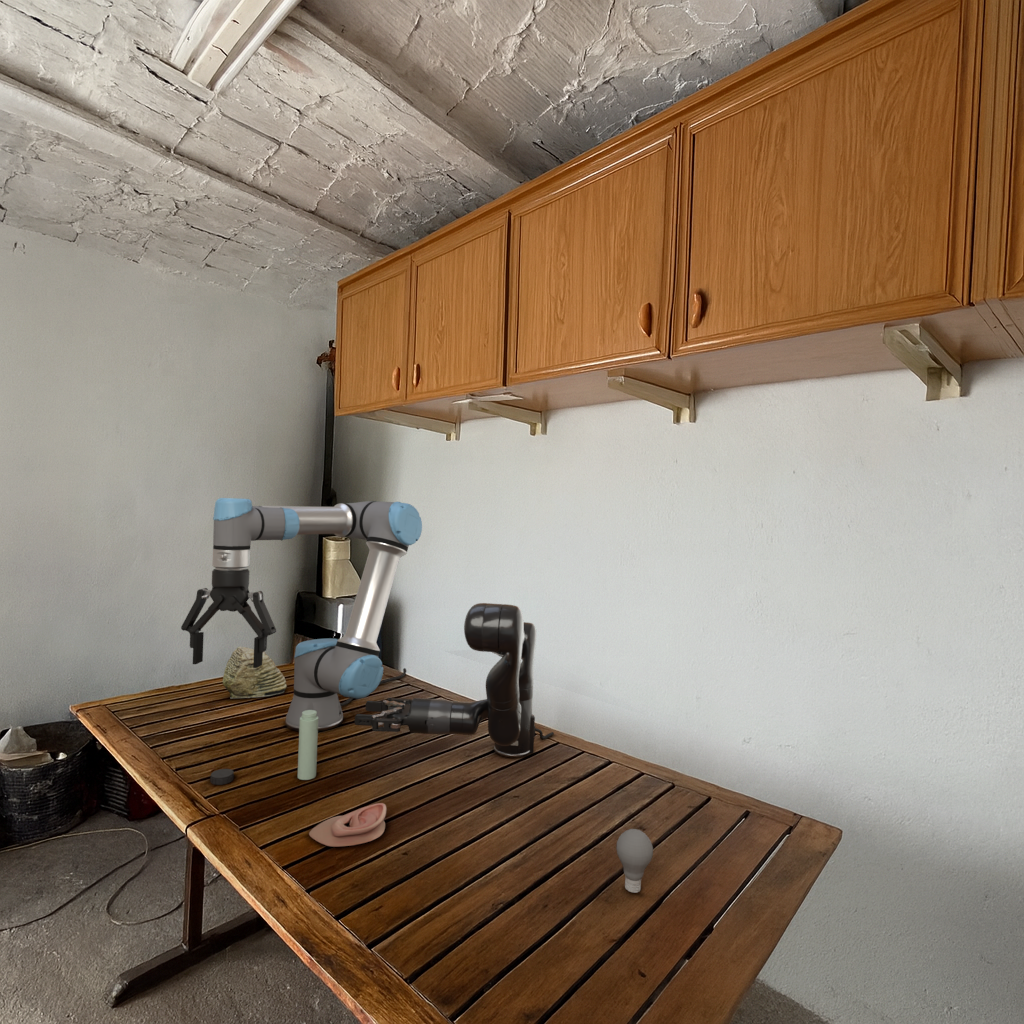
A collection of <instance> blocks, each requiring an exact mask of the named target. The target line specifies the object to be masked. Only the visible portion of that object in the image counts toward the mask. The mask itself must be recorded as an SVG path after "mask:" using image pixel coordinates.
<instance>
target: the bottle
mask: <svg viewBox="0 0 1024 1024" xmlns="http://www.w3.org/2000/svg"><path fill="white" fill-rule="evenodd" d="M316 714H317V712H316V711H315V710H306V711H303V712H302V716H301V717H300V723H299V731H298V749H297V750H298V751H297V752H298V753H297V754H298V755H297V779H299V780H301V781H309V780H313V779H315V778H316V777H317V764H318V763H317V762H318V761H317V760H318V738H319V736H318V735H319V731H318V716H316Z"/></svg>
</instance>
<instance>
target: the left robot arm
mask: <svg viewBox="0 0 1024 1024" xmlns="http://www.w3.org/2000/svg"><path fill="white" fill-rule="evenodd" d="M214 504H215V505H214V511H213V518H212V520H213V534H212V535H213V538H212V541H213V542H212V545H213V546H212V567H213V568H214V569H212V571H211V587H212V588H211V589H208V588H207V587H204V588H199V589H197V591H196V597H195V600H194V602H193V604H192V606H191V607H190V610H189V612H188V613H187V615H186V617H185V619H184V621H183V622H182V625H180V629H181V630H182V631H185V632H188V633H189V648H190V649H192V665H198V664H200V663H202V662H204V661H203V660H204V636H205V635H204V634H205V633H204V632H203V631H202V629H203V628H204V627H205V626H206V625H207V624H208V622H210V620H211V619H212V618H213V617H214V616H215V615H216V613H217V612H219V611H220V612H226V611H228V612H234V613H235V612H238V614H240V615H241V616H242V617H243V618H244V620H245V621H246V622H247V624H248V625H249V626H250V628H251V629H252V631H253V632H254V633H255V634H256V637H254V639H253V649H254V663H253V668H258V667H259V666H261V665H262V658H263V652H266V651H267V649H268V637H269V636H271V635H274V634H275V633H277V628H276V625H275V624H274V621H273V619H272V616H271V614H270V612H269V610H268V607H267V606H266V603H265V601H264V600H265V599H264V592H263V591H262V590H258V591H253V592H250V590H249V586H250V570H249V567H250V566H251V543H252V542H253V541H285V540H292V539H294V538H295V537H296V536H299V535H300V536H301V535H331V534H332V535H335V537H337V538H354V539H359V540H364V541H366V542H365V544H366V546H367V547H368V550H369V551H368V555H367V558H366V561H365V564H364V568H363V571H362V575H361V577H360V581H359V582H360V583H359V586H358V589H357V593H356V596H355V599H354V601H353V602H354V603H353V605H352V609H351V613H350V617H349V620H348V623H347V627H346V630H345V634H344V635H342V636H341V637H340V638H331V637H329V638H317V639H316V638H315V639H308V640H304V641H301V642H299V643H298V644H297V645H296V646H295V652H294V656H293V658H294V670H293V671H294V672H293V695H292V696H293V697H292V699H291V702H290V704H289V708H288V711H287V713H286V715H285V726H286V728H287V729H289V730H291V731H294V732H295V731H296V732H299V723H300V717H301V716H302V712H303V711H306V710H315V711H316V712H317V714H316V716H318V732H325V731H329V730H332V729H335V728H337V727H339V726H340V725H342V723H343V722H344V714H343V709H342V707H344V706H346V705H348V704H349V703H350V702H352V700H354V699H357V700H358V699H365V698H367V697H368V696H369V695H371V694H372V693H374V692H375V691H376V690H377V688H378V687H379V685H381V684H385V683H389V682H392V681H396V680H399V679H402V678H404V677H405V676H406V674H407V668H405V667H404V668H403V669H402V670H403V671H402V674H400V675H396V676H393V677H389V678H387V679H383V675H384V666H383V661H382V660H381V659H380V658H379V655H380V652H381V649H380V647H379V646H378V643H377V641H378V639H379V638H378V637H379V635H380V631H381V628H382V623H383V620H384V616H385V612H386V609H387V605H388V601H389V598H390V595H391V592H392V587H393V583H394V580H395V577H396V573H397V571H398V570H397V569H398V565H399V562H400V559H401V558H402V557H404V556H406V554H408V551H409V547H410V546H412V545H414V544H416V543H417V542H418V541H419V540H420V537H421V536H422V533H423V522H422V521H423V520H422V517H421V516H420V512H419V511H418V509H417V508H416V507H415V506H414V505H412V504H410V503H406V502H401V501H379V500H367V501H366V500H365V501H358V502H349V503H348V502H347V503H345V502H344V503H343V502H340V503H337V504H335V505H334V506H306V505H305V506H301V505H299V506H298V505H295V506H294V505H253V502H252V500H251V499H250V498H239V497H237V498H236V497H219V498H218V499H216V500H215V503H214ZM209 598H210V599H211V600H212V603H211V604H210V605H209V606H208V607H207V609H206V611H205V612H204V613H203V614H202V615H201V616H200V617H199V615H200V613H201V612H202V610H203V608H204V606H205V604H206V602H207V600H208V599H209ZM249 599H250V601H251V602H252V603H253V606H254V609H255V611H256V614H257V615H258V616H257V615H256V614H255V613H254V611H253V610H252V607H251V606H250V604H249V603H248V601H249ZM198 617H199V618H198ZM339 695H340V696H342V697H345V698H347V699H346V700H345V701H343V702H340V699H339Z"/></svg>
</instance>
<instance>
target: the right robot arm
mask: <svg viewBox="0 0 1024 1024" xmlns="http://www.w3.org/2000/svg"><path fill="white" fill-rule="evenodd" d="M463 631H464V632H463V634H464V639H465V642H466V643H467V645H468V647H469V648H470V649H471V650H473V651H476V652H482V653H483V652H484V653H492V654H494V655H497V657H500V658H499V660H498V661H497V662H496V663H495V664H494V665H493V666H492V668H491V669H490V670H489V672H488V674H487V676H486V679H485V695H486V698H485V699H480V700H475V701H456V700H455V701H454V700H447V699H440V698H439V699H438V698H425V697H423V698H421V697H413V698H412V699H411V698H399V697H388V698H387V699H383V700H382V701H381V700H380V701H378V700H366V701H365V711H366V712H374V713H375V712H376V714H366V713H365V714H364V713H357V714H356V715H354V725H356V726H365V727H371V728H372V729H371V730H372V731H373V732H386V733H387V732H388V733H389V732H390V733H399V732H401V727H402V726H407V727H408V732H409V733H411V734H421V735H422V734H423V735H439V736H440V735H460V736H461V735H462V736H472V735H475V734H476V733H477V731H478V729H479V726H480V724H481V722H482V721H484V720H487V732H488V736H489V738H490V740H491V742H493V743H494V745H493V751H494V752H495V753H496V754H497V755H499V756H501V757H505V758H512V759H514V758H515V759H517V758H524V757H526V756H528V755H531V754H534V748H535V747H534V746H535V738H536V733H539V739H541V740H546V739H548V738H550V737H552V736H554V735H555V732H553V731H551V732H549V733H547V734H545V735H543V734H544V733H543V731H542V729H539V728H537V727H536V725H535V723H536V716H535V715H534V714H533V701H534V699H533V697H534V696H533V695H534V673H535V658H536V648H537V629H536V625H535V624H534V623H533V622H527V621H526V622H525V621H524V615H523V611H522V610H521V608H520V607H519V606H517V605H515V604H508V603H507V604H506V603H504V604H503V603H491V602H490V603H489V602H488V603H487V602H479V603H475V604H473V605H472V606H471V607H470V608H469V609H468V611H467V613H466V616H465V619H464V624H463ZM377 712H378V714H377Z"/></svg>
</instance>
